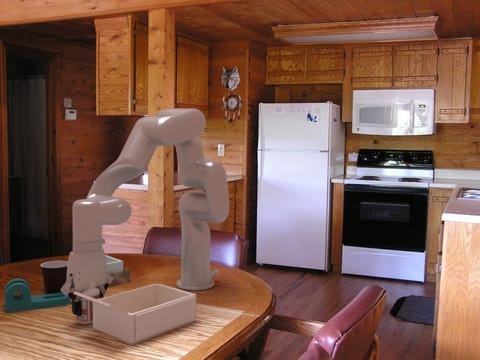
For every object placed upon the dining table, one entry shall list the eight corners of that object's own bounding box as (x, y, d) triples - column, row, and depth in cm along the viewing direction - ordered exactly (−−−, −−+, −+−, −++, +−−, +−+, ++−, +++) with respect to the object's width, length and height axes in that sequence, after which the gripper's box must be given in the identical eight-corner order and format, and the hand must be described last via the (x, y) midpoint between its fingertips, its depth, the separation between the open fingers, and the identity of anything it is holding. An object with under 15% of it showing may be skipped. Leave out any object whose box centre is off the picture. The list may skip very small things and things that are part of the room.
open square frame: (100, 272, 191) (100, 261, 190) (130, 281, 180) (130, 269, 180) (59, 281, 178) (59, 270, 177) (88, 291, 167) (88, 279, 167)
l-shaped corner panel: (105, 275, 187) (105, 254, 187) (123, 282, 179) (123, 261, 178) (73, 281, 179) (73, 259, 178) (90, 289, 170) (90, 267, 170)
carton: (157, 307, 154) (157, 282, 153) (199, 321, 143) (199, 294, 142) (91, 328, 137) (90, 300, 136) (133, 346, 126) (133, 315, 125)
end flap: (92, 299, 135) (74, 291, 130) (128, 312, 125) (110, 304, 121) (91, 301, 134) (73, 293, 130) (127, 314, 125) (108, 306, 121)
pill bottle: (99, 315, 146) (98, 276, 145) (101, 323, 140) (101, 282, 139) (75, 318, 144) (75, 278, 143) (76, 325, 138) (76, 284, 137)
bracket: (5, 313, 147) (4, 285, 146) (4, 306, 153) (4, 279, 153) (72, 305, 155) (72, 279, 154) (69, 298, 161) (69, 273, 160)
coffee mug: (61, 301, 158) (61, 268, 157) (35, 299, 159) (34, 266, 158) (80, 290, 169) (80, 259, 168) (56, 288, 171) (55, 257, 170)
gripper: (106, 239, 149) (106, 301, 151) (50, 248, 136) (51, 316, 138) (122, 243, 145) (123, 307, 146) (66, 253, 131) (67, 323, 133)
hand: (88, 311), depth 142 cm, fingers closed on pill bottle, 6 cm apart
